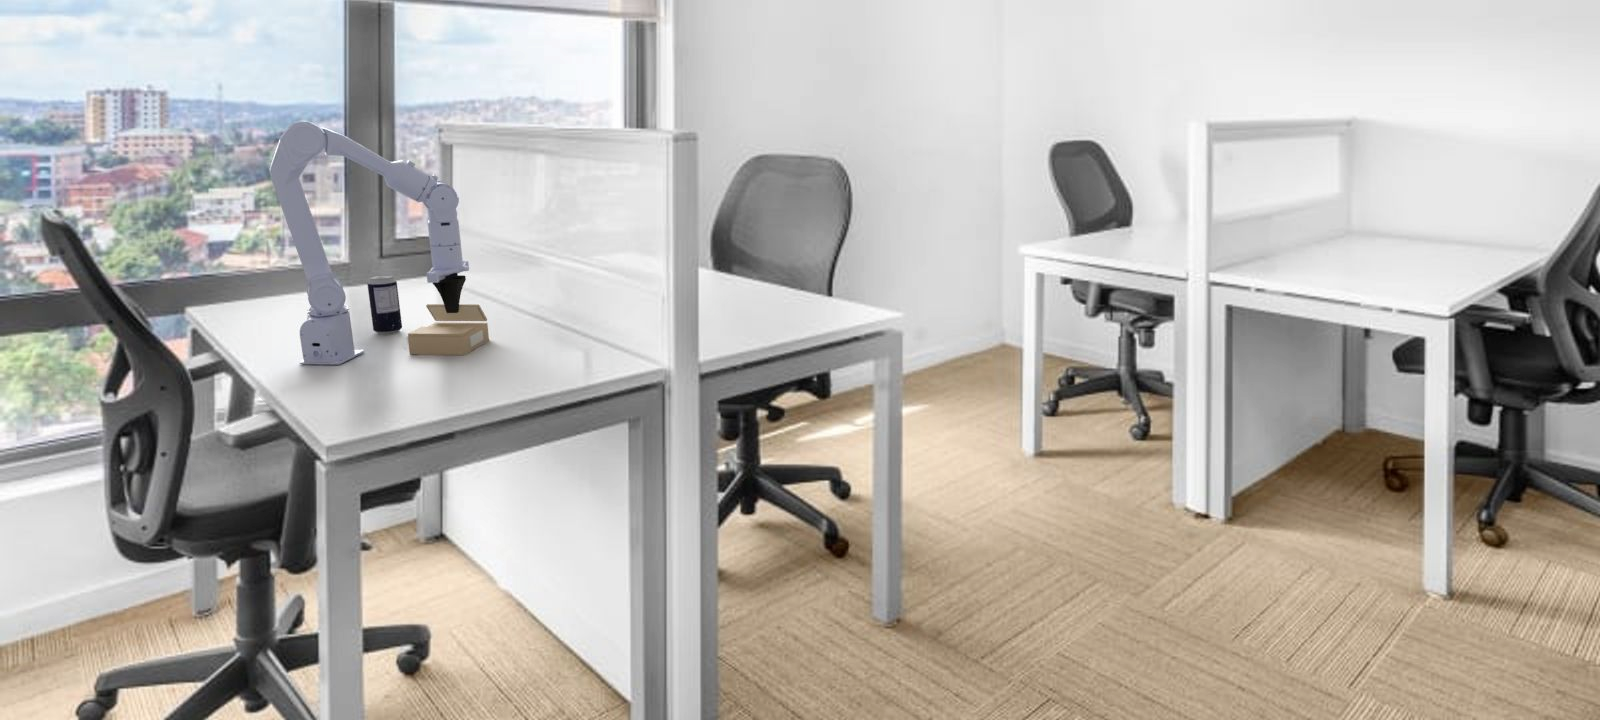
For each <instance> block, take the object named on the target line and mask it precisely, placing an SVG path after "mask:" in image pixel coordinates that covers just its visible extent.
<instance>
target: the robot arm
mask: <svg viewBox="0 0 1600 720" xmlns="http://www.w3.org/2000/svg"><path fill="white" fill-rule="evenodd" d="M322 152H323V153H324V155H325V156H335V157H336V156H337V157H339V156H341V157H344V158H347V159H348V160H351V161H352V162H355V163H357V164H359V165H360V166H362V167H364V168H366V169H368V170H370V171H373V172H375V173H376V174H378V175H380V176H383V179H384V181H385V184H386V186H387V187H388V188H390V189H392V190H393V191H395V192H397V193H399V194H402V195H403V196H405V197H406V198H409V199H410V200H412V201H414V202H415V203H416V202H417V203H423V205H424V207H426V208H427V209H426V211H427V220H428V221H427V229H428V238H429V245H430V246H429V248H430V249H429V250H430V255H431V256H430V257H431V263H432V265H431V266H432V267H431V268H430V270H429V271H427V272H426V274H425V275H426V281H427V283H428V284H432V285H433V286H434V287H435V289H436V290H437V291H438V293H439V296H440V298H441V299H442V302H443V303H442V304H444V306H445V309H446V312H447V313H458V312H459V305H460V299H461V295H462V290H463V286H464V284H465V282H466V281H467V280H466V279H467V278H466V277H467V276H466V275H460V273H463V272H467V271H470V266H469V261H468V260H463V252H462V241H461V233H460V225H459V219H458V212H457V208H458V205H459V203H460V197H459V196H458V194H457V191H455V189H454V187H452V186H451V185H450V184H447V183H445V182H444V181H442V180H438V179H439V176H437V175H435V174H432V175H431V174H429V173H426V172H424V171H423V170H421V169H419V168H418V167H415V166H416V164H415V163H414V162H413V161H411V160H407V162H406V161H404V160H403V159H399V160H394V161H389V160H388V159H386V158H384V157H382V156H381V155H379V154H378V153H376V152H373V151H372V150H371V149H369V148H367V147H365V146H363V145H362V144H360V143H358V142H357V141H355V140H354V139H351V138H350V137H347V136H346V135H344V134H342V133H338V132H336V131H334V130H331V129H328V128H325V127H322V126H321V127H319V126H318V125H317V124H315V123H314V122H310V121H307V120H297V121H295V122H292V123H291V124H290V125H289V126H288V127H287V128H286V130H285V131H284V132H283V133H282V134H281V136H280V137H279V140H278V142H277V147H276V149H275V152H274V156H273V158H272V162H271V164H270V166H269V175H270V176H269V177H270V179H271V182H272V184H273V188H274V190H275V191H274V192H275V193H276V195H277V198H278V201H279V205H280V207H281V211H282V213H283V215H284V218H285V221H286V224H287V226H288V229H289V232H290V235H291V237H292V241H293V243H294V247H295V249H296V252H297V254H298V257H299V260H300V262H301V266H302V269H303V272H304V274H305V278H306V281H307V285H306V295H307V299H308V303H309V305H310V308H309V309H307V310H306V314H307V319H306V320H305V321H304V322H303V323H302V324H301V326H300V329H299V339H300V340H299V341H300V344H301V353H302V358H303V359H302V360H300V361H299V365H342V364H343V363H345V362H348V361H349V360H352V359H353V358H355V357H358V356H359V355H361V354H364V353H365V350H364V349H355V345H354V339H353V338H354V337H353V329H352V322H351V315H350V308H349V306H347V305H345V303H346V298H347V297H346V292H345V290H344V288H343V284H342V282H341V281H340V279H338V278H337V277H336V276H335V274H334V273H333V272H332V269H331V266H330V262H329V261H328V258H327V255H326V252H325V249H324V246H323V243H322V240H321V238H320V234H319V231H318V229H317V226H316V223H315V221H314V217H313V215H312V211H311V209H310V206H309V203H308V201H307V197H306V194H305V192H304V189H303V187H302V183H301V180H300V177H301V175H302V173H303V172H304V171H305V169H306V168H307V165H308V164H309V163H310V162H311V161H312V160H314V159H315V158H316V157H317V156H319V155H320V154H321V153H322ZM458 274H459V275H458Z"/></svg>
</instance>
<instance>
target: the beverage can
mask: <svg viewBox="0 0 1600 720" xmlns="http://www.w3.org/2000/svg"><path fill="white" fill-rule="evenodd" d="M367 292H368V299H369V306H370V314H371V320H372V321H371V322H372V323H371V324H372V330H373V332H375V333H377V335H379V336H380V335H381V336H389V335H395V334H398V333H399V332H400V330H401V329H402V328H403V323H402V316H401V308H400V299H399V298H400V297H399V291H398V281H397V280H396V278H395V276H394V274H378V275H372V276H368V282H367Z"/></svg>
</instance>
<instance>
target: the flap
mask: <svg viewBox="0 0 1600 720" xmlns="http://www.w3.org/2000/svg"><path fill="white" fill-rule="evenodd" d="M425 306H426V307H425V308H426V309H427V310H428V311H429V313H430V315H431V317H433V319H434V321H435V322H487V321H488V317H487V316H486V315H485V312H484V311H483V309H482V308H481V305H480V304H459V312H458V313H447V312H446V309H445V306H444V303H442V304H433V303H432V304H428V303H427V304H426V305H425Z"/></svg>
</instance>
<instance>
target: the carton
mask: <svg viewBox="0 0 1600 720" xmlns="http://www.w3.org/2000/svg"><path fill="white" fill-rule="evenodd" d="M489 335H490V334H489V325H488V322H434V323H431V324H430V325H427V326H420V327H418V328H416V329H414V330H412V331H410V332H408V333H407V343H408V350H409V355H410V354H422V355H424V356H425V355H429V356H430V355H432V356H434V355H435V356H437V355H438V356H466V355H467V354H469V353H470V352H472V351H474V350H475V349H477V348H478V347H480V346H482V345H484V344H485V343H486V342H487V343H488V341H490V337H489Z"/></svg>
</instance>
